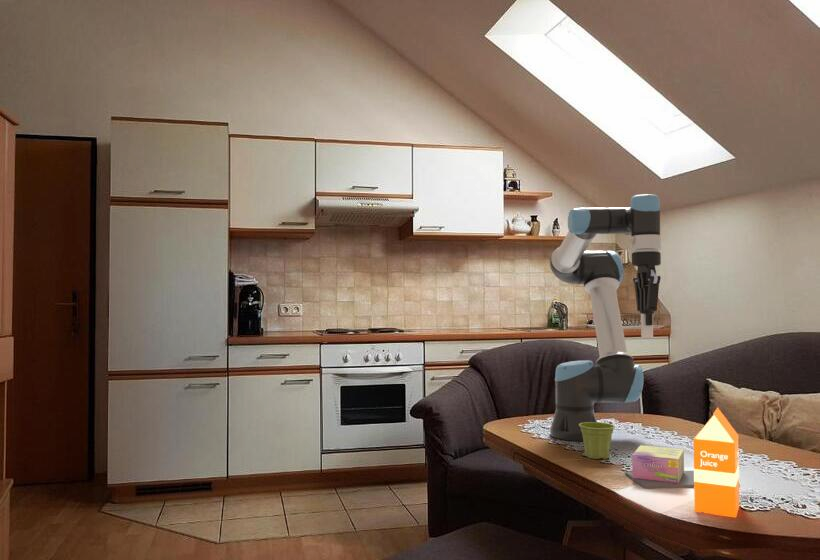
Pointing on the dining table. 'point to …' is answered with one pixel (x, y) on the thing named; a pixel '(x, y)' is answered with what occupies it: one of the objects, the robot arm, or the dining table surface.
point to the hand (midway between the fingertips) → (647, 337)
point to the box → (658, 464)
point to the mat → (685, 481)
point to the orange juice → (716, 468)
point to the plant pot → (596, 439)
